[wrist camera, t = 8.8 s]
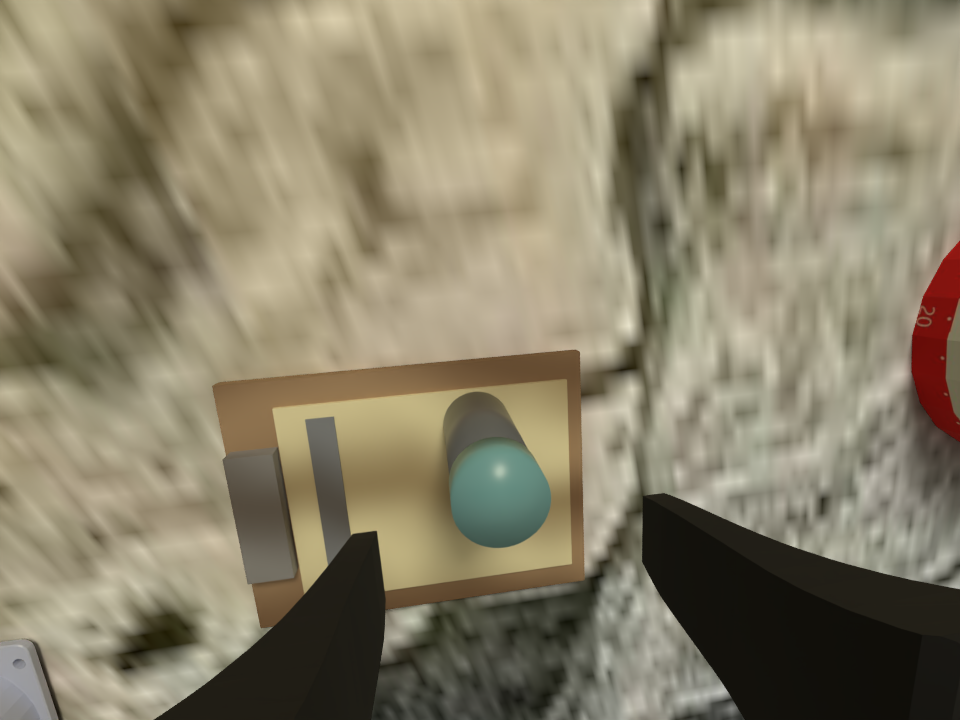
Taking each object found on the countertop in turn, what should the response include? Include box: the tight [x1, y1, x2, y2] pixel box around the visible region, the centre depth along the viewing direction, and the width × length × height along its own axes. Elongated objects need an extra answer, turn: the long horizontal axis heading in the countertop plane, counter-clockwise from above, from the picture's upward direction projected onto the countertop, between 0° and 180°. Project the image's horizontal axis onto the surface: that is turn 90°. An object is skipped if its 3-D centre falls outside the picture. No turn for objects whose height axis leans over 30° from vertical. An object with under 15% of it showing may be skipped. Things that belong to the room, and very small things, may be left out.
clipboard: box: [212, 350, 584, 628], centre depth 21 cm, size 12×16×1 cm
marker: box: [443, 392, 551, 548], centre depth 17 cm, size 3×3×7 cm
